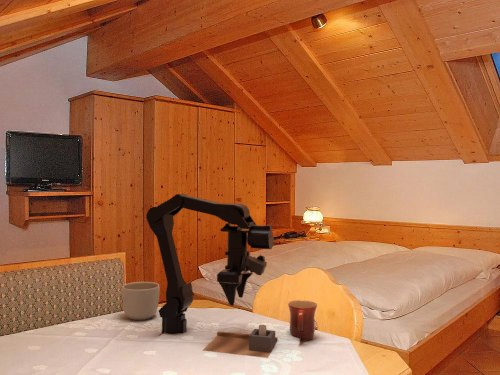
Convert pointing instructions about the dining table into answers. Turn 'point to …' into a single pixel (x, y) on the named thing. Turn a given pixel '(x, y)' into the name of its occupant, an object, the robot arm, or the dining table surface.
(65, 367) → the dining table surface
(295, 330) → the mug
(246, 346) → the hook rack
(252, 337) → the gray square frame
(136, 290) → the planter
